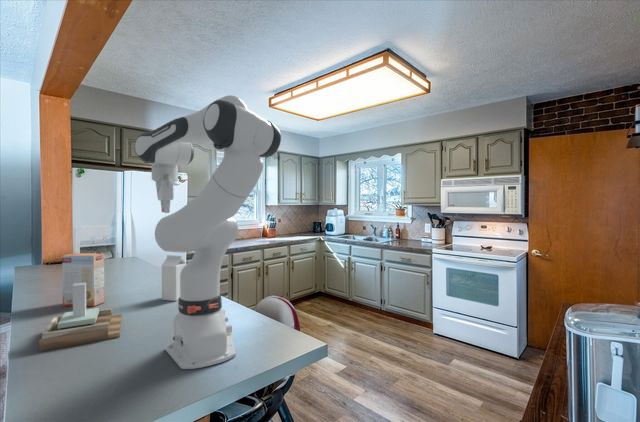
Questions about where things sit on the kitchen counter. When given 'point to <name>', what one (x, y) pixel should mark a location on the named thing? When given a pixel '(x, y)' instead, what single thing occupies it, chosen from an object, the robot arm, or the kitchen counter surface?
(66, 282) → the cracker box
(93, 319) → the mint green slab
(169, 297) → the milk carton
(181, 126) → the robot arm
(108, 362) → the kitchen counter surface
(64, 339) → the tray
